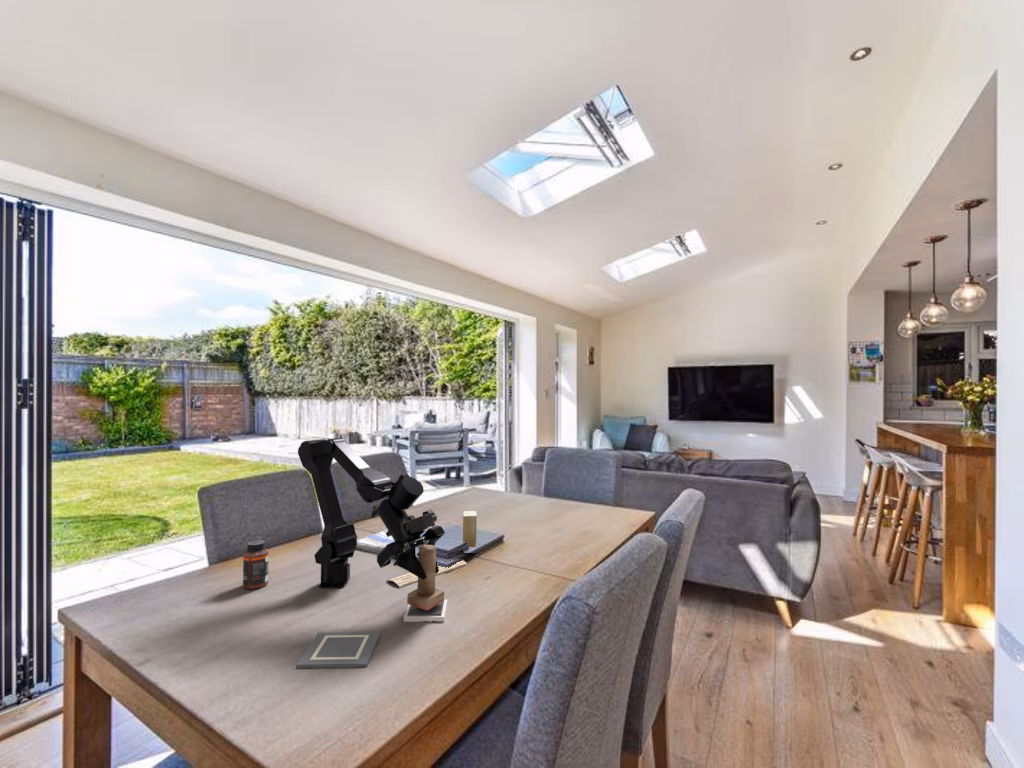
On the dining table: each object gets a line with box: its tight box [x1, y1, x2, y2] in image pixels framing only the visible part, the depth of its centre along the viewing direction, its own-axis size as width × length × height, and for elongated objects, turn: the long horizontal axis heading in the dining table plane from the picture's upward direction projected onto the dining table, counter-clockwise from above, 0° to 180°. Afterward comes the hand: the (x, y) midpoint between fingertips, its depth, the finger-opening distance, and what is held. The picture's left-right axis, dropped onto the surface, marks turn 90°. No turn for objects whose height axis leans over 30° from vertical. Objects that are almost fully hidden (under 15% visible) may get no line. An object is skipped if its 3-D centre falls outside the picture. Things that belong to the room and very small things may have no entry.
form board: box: [295, 631, 381, 669], centre depth 98 cm, size 13×12×1 cm
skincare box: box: [462, 510, 478, 548], centre depth 158 cm, size 6×4×12 cm
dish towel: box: [355, 528, 427, 554], centre depth 166 cm, size 17×24×3 cm
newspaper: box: [386, 559, 468, 589], centre depth 139 cm, size 24×7×2 cm, turn 137°
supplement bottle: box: [242, 539, 270, 590], centre depth 129 cm, size 6×6×11 cm
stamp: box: [406, 545, 445, 611], centre depth 115 cm, size 6×6×13 cm
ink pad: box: [403, 599, 448, 623], centre depth 115 cm, size 9×9×1 cm
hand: (431, 575), depth 114 cm, fingers closed on stamp, 4 cm apart
